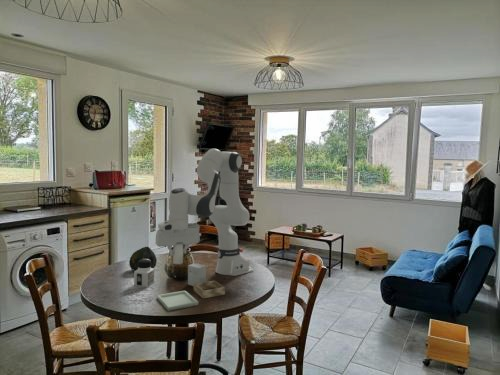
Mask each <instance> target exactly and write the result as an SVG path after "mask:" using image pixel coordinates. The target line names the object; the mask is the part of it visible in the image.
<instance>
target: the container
mask: <svg viewBox="0 0 500 375" xmlns="http://www.w3.org/2000/svg"><path fill="white" fill-rule="evenodd" d="M133 271H134V270H133ZM154 283H155V267H154V268H151V260H149V259H141V260H139V261H138V270H136V271H134V273H133V286H135V287H142V288H148V287H150V286H151V285H153V284H154Z"/></svg>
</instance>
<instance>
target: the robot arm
mask: <svg viewBox="0 0 500 375" xmlns="http://www.w3.org/2000/svg"><path fill="white" fill-rule="evenodd" d="M242 158H243V157H242V155H241V154H240V153H238V152H236V151H221V150H219V149H217V148H210V149H208V151H206V152H205V153H204V155H203V156H202V157H201V159H200V161H199V163H198V164H197V167H196V175H197V176H198V178H199V180H201V181H203V182H204V183H205V184H208V187H207V190H206V191H207V192H206V193H205V194H203V195H201V194H199V195H198V194H197V195H196V194H191V193H189V192H188V190H187V189H186V188H181V187H180V188H179V187H178V188H173V189H172V190H170V192H169V196H168V197H169V198H168V211H169V215H168V220H167V219H166V220H165V221H162V222H159V223H158V224H157V228H158V229H157V231H156V233H155V245H156V246H157V247H158V248H159V247H160V248H161V247H167V249H168V250H169V255H170V256H173V255H174V251H173V249H172V248H173V245H177V244H176V243H177V242H183V255H185V254H187V250H188V249H189V246H190V244H198V243H200V241H201V240H200V239H201V238H200V228H201V226H200V225H199V224H198V223H197V222H191V223H189V216H197V217H202V218H208V219H209V220H210V221H211V223H213V225H214V226H215V228H216V231H217V235H218V247H217V263H216V267H215V270H214V271H215V273H217V274H220V275H223V276H233V277H236V276H241V275H244V274H248V273H252V272H254V268H252V267H251V266H250V262H249V260H248V259H247V257H245V256H243V255H242V254H241V253H243V252H244V249H243V248H239V246H238V244H239V242H238V241H239V240H238V239H239V238H238V234H237V232H235V231H234V230H233V228H232V226H235V227H236V226H238V227H239V226H246V225H247V224H248V223H249V221H250V212H249V210H248V209H247V208H246V207H245V206H244V205H243V203H242V200H241V199H240V192H239V190H240V187H239V182H240V181H239V171H240V169H241V168H242V164H243V159H242ZM218 195H219V196H220V198H221V199H223V200H224V202H225V203H226V205H224V204H223V205H222V204H217V205H216V202H217V201H216V200H217V198H218Z"/></svg>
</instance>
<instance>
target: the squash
mask: <svg viewBox="0 0 500 375" xmlns="http://www.w3.org/2000/svg"><path fill="white" fill-rule="evenodd" d="M141 259H149V260H151V268H154V269H155V267H156V265H157V262H158V261H157V257H156V254H155V252H154V251H153V250H152V249H151V247H149V246H144V247H141V248H140V249H139V248H138V249H137V250H135V251H134V252H133V253H132V254H131V256H130V258H129V262H128V263H129V268H130V269H131V270H132V271H136V270H138V261H139V260H141Z"/></svg>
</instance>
